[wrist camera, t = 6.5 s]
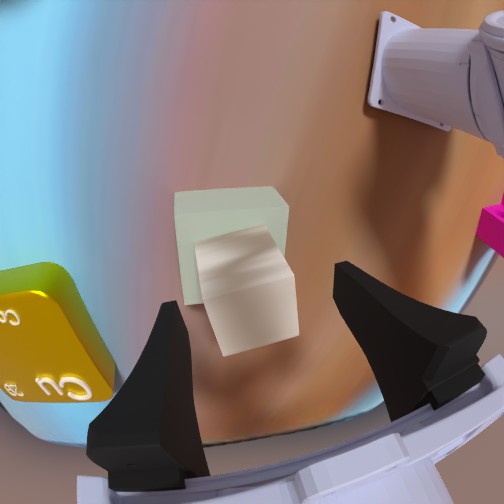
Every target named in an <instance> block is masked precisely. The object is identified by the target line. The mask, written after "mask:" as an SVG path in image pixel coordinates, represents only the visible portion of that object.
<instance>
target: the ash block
mask: <svg viewBox="0 0 504 504" xmlns="http://www.w3.org/2000/svg"><path fill="white" fill-rule="evenodd" d="M194 245H195V253H196V260H197V267H198V274H199V280H200V287H201V293H202V300H203V303H204V306H205V309H206V311H207V314H208V317H209V320H210V322H211V325H212V328H213V330H214V333H215V336H216V339H217V341H218V344H219V346H220V349H221V352H222V354H223V357H224V356H228V355H232V354H236V353H240V352H243V351H247V350H251V349H254V348H258V347H261V346H265V345H268V344H272V343H275V342H279V341H282V340H285V339H289V338H292V337H295V336H298V335H299V327H298V314H297V302H296V290H295V279H294V274H293V273H292V271H291V269H290V267H289V266H288V264H287V262H286V260H285V259H284V257H283V255H282V253H281V252H280V250H279V248H278V246H277V245H276V243H275V241H274V239H273V238H272V236H271V234H270V233H269V231H268V229H267V227H266V226H265V224H262V225H258V226H254V227H250V228H246V229H242V230H239V231H235V232H231V233H227V234H223V235H219V236H215V237H211V238H208V239H204V240H200V241H196V242H194Z"/></svg>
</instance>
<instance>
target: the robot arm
mask: <svg viewBox="0 0 504 504" xmlns="http://www.w3.org/2000/svg"><path fill="white" fill-rule="evenodd" d="M391 18H392V19H393V22H392V21H391ZM379 100H381V103H380V105H379V104H378V101H379ZM368 104H369V105H370V106H372V107H375V108H379V109H382V110H386V111H389V112H392V113H396V114H399V115H402V116H405V117H408V118H411V119H414V120H417V121H420V122H423V123H426V124H429V125H431V126H434V127H437V128H439V129H442V130H445V131H447V132H449V131H450V130H451V128H452V127H453V128H456V129H459V130H461V131H464V132H467V133H469V134H472V135H474V136H477V137H479V138H481V139H484V140H486V141H488V142H491V143H492V144H493V145H494V146H495V148H496V152H497V155H499V156H501V157H503V158H504V10H501V11H497V12H494V13H491V14H489V15H488V16H486V17H485V19H484V21H483V23H482V24H481V25H480V27H479V30H471V29H448V28H424V29H422V28H421V27H419V26H417V25H415V24H413V23H411V22H409V21H407V20H405V19H403V18H401V17H399V16H397V15H394V14H392V13H390V12H387V11H384V12H381V14H380V19H379V28H378V36H377V43H376V50H375V57H374V64H373V70H372V76H371V82H370V88H369V94H368ZM440 123H441V124H440ZM333 299H334V301H335V303H336V306H337V308H338V310H339V312H340V314H341V316H342V318H343V319H344V321H345V323H346V324H347V326H348V327H349V329H350V331H351V332H352V334H353V335H354V337H355V339H356V340H357V342H358V343H359V345H360V347H361V348H362V350H363V352H364V354H365V355H366V357H367V359H368V362H369V364H370V366H371V368H372V370H373V373H374V375H375V378H376V380H377V382H378V385H379V387H380V390H381V393H382V395H383V398H384V401H385V404H386V407H387V410H388V413H389V417H390V420H391V423H389V424H387V425H384V426H382V427H380V428H377V429H375V430H373V431H370V432H368V433H366V434H363V435H361V436H358V437H356V438H353V439H351V440H348V441H345V442H342V443H340V444H337V445H334V446H331V447H328V448H326V449H323V450H319V451H316V452H313V453H310V454H307V455H303V456H300V457H296V458H293V459H289V460H285V461H282V462H278V463H274V464H270V465H266V466H261V467H257V468H253V469H248V470H242V471H237V472H232V473H226V474H220V475H214V476H210V473H209V469H208V466H207V462H206V458H205V454H204V450H203V446H202V441H201V437H200V432H199V427H198V422H197V417H196V411H195V406H194V398H193V384H192V362H191V348H190V342H189V335H188V331H187V328H186V326H185V323H184V320H183V318H182V315H181V312H180V310H179V307H178V304H177V302H176V300H175V301H170V302H165V303H162V305H161V307H160V310H159V313H158V316H157V319H156V321H155V324H154V327H153V329H152V331H151V334H150V336H149V339H148V341H147V343H146V345H145V347H144V350H143V352H142V354H141V356H140V358H139V360H138V362H137V363H136V365H135V367H134V369H133V370H132V372H131V374H130V375H129V377H128V378H127V380H126V381H125V383H124V385H123V386H122V387H121V389H120V390H119V392H118V393H117V394H116V395H115V397H114V398H113V399H112V400H111V402H110V403H109V404H108V405H107V406H106V408H105V409H104V410H103V411H102V412H101V413H100V414H99V415H98V416H97V417H96V418H95V419H94V420H93V421H92V422H91V423H90V424H89V429H88V434H87V452H86V454H87V456H88V458H89V459H90V460H91V461H93V462H94V463H95V464H97V465H99V466H100V467H102V468H103V469H105V470H107V471H108V478H105V477H100V476H82V475H79V476H77V504H454V503H453V501H452V499H451V497H450V495H449V493H448V491H447V489H446V487H445V485H444V483H443V481H442V479H441V477H440V475H439V473H438V471H437V469H436V467H435V465H434V464H435V463H437V462H438V461H440V460H442V459H443V458H445V457H446V456H447V455H449V454H451V453H452V452H453V451H455V450H456V449H458V448H459V447H461V446H462V445H463V444H465V443H466V442H468V441H469V440H470V439H472V438H473V437H474V436H476V435H477V434H478V433H480V432H481V431H482V430H483V429H485V428H486V427H487V426H489V425H490V424H491V423H492V422H494V421H495V420H496V419H497V418H499V417H500V416H501V415H502V414H503V413H504V359H503V357H502V356H501V355H500V354H497V355H496V356H494V357H493V358H492V359H490V360H489V361H487V362H486V363H485V364H484V365H483V366H482V367H480V366H479V365H478V362H479V358H478V357H477V355H476V354H477V352H478V350H479V349H480V347H481V345H482V344H483V342H484V340H485V338H486V334H487V330H486V328H485V327H484V326H483V325H482V324H481V323H480V321H479V320H478V319H477V318H476V317H474V316H468V315H463V314H457V313H453V312H449V311H445V310H442V309H439V308H436V307H433V306H430V305H427V304H424V303H422V302H419V301H417V300H415V299H412V298H410V297H408V296H406V295H404V294H402V293H400V292H398V291H396V290H394V289H392V288H391V287H389V286H387V285H385V284H384V283H382V282H380V281H379V280H377V279H375V278H374V277H372V276H370V275H369V274H367V273H366V272H364V271H363V270H361V269H359V268H358V267H356V266H355V265H353V264H351V263H350V262H348V261H344V262H340V263H336V264H335V271H334V287H333Z"/></svg>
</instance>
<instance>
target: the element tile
mask: <svg viewBox="0 0 504 504" xmlns="http://www.w3.org/2000/svg"><path fill="white" fill-rule="evenodd" d="M114 378H115V361H114V359H113V357H112V356H111V354H110V352H109V350H108V349H107V347H106V345H105V343H104V342H103V340H102V338H101V336H100V334H99V332H98V330H97V328H96V327H95V325H94V323H93V321H92V319H91V317H90V315H89V313H88V311H87V309H86V307H85V305H84V303H83V300H82V298H81V296H80V294H79V292H78V290H77V288H76V285H75V283H74V281H73V279H72V277H71V276H70V274H69V273H68V272H67V271H66V270H65V269H64V268H63V267H61V266H60V265H58V264H56V263H51V262H41V263H36V264H31V265H26V266H21V267H17V268H12V269H7V270H2V271H0V388H1V389H2V390H3V392H5V393H6V394H7V395H8V396H9V397H10V398H12V399H13V400H17V401H23V402H47V403H79V402H102V401H107V400H109V399H111V398H112V397H113V391H114Z"/></svg>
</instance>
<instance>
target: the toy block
mask: <svg viewBox="0 0 504 504" xmlns="http://www.w3.org/2000/svg"><path fill="white" fill-rule="evenodd" d="M476 236H477V237H479V238H480V239H481V240H483V241H484V242H485V243H486V244H488V245H489V246H490V247H491V248H492V249H494V250H495V251H496V252H497V253H498V254H500V255H501V256H502V257H503V258H504V194H503V198H502V203H501V204H499V205H494V206H490V207H485V208H482V212H481V216H480V220H479V224H478V228H477V232H476Z"/></svg>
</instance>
